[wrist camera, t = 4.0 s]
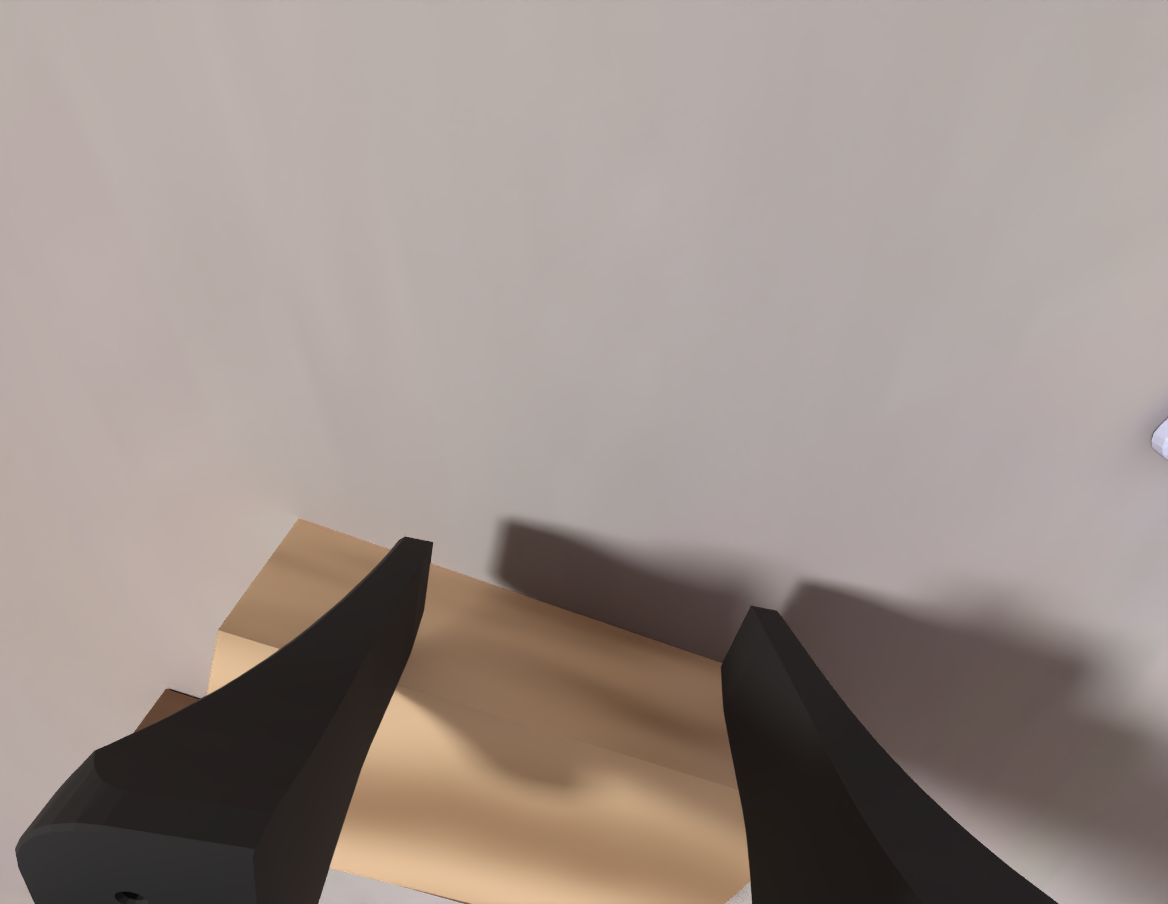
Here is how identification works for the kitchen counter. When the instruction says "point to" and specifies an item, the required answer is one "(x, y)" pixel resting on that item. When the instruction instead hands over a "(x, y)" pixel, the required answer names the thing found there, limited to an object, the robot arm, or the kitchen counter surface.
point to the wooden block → (518, 744)
